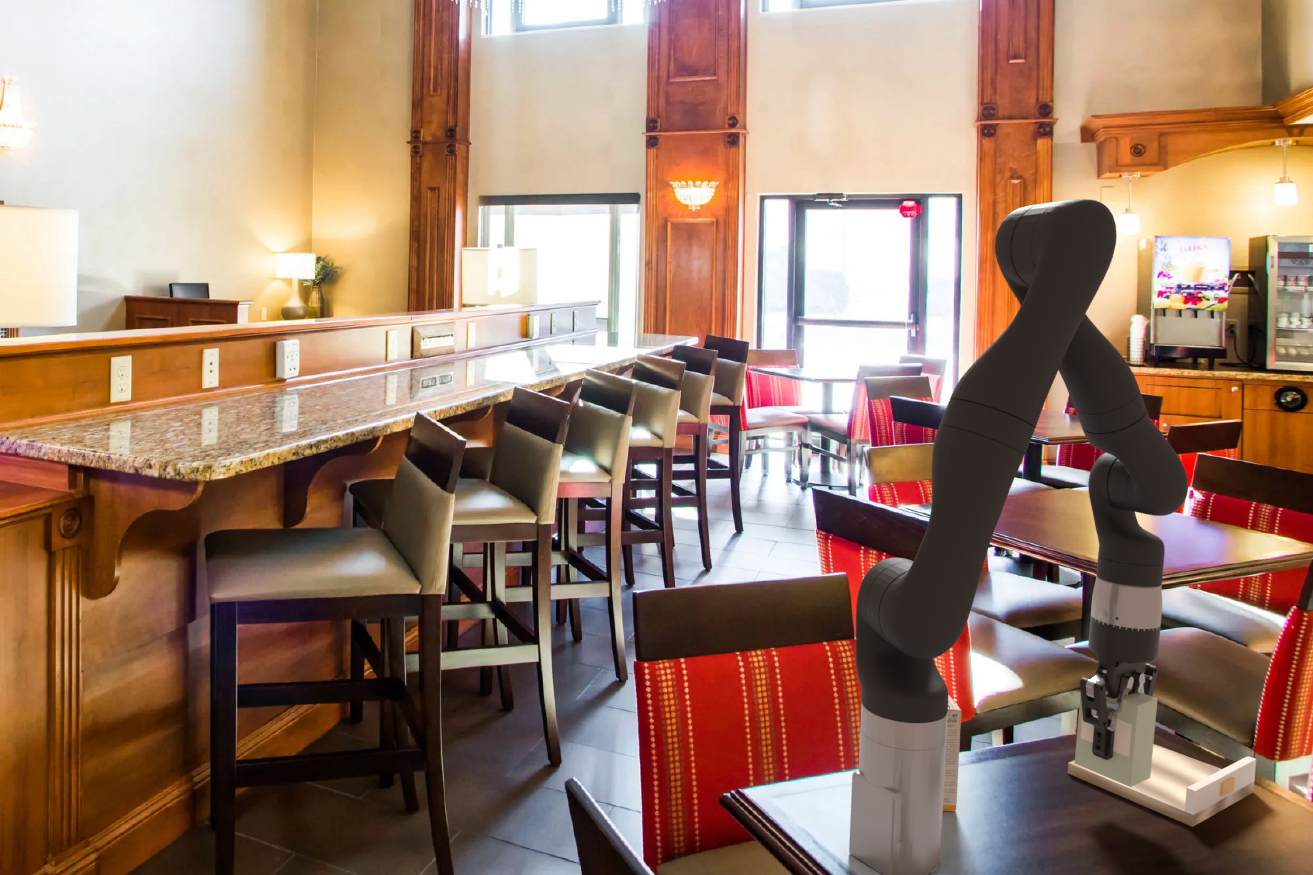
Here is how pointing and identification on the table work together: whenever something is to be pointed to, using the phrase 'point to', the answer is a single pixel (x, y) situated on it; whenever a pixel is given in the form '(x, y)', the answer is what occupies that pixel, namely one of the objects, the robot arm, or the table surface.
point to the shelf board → (1181, 785)
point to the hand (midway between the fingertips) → (1113, 751)
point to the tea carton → (1122, 741)
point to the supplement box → (952, 756)
